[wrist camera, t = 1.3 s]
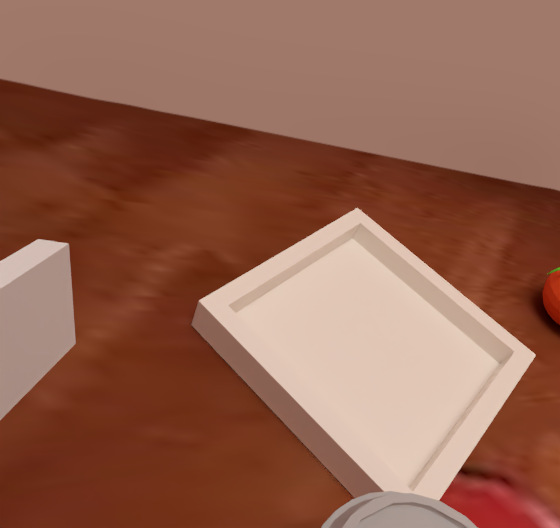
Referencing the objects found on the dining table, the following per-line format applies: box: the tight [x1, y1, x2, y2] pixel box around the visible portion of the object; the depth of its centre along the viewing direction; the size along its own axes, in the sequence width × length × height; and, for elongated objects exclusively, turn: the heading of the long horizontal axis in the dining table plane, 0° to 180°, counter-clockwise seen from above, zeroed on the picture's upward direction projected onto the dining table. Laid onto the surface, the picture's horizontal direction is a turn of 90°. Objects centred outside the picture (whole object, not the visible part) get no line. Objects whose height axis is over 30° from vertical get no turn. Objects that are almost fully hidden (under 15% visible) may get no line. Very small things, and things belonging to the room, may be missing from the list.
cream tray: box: [191, 208, 536, 500], centre depth 41 cm, size 20×20×3 cm
